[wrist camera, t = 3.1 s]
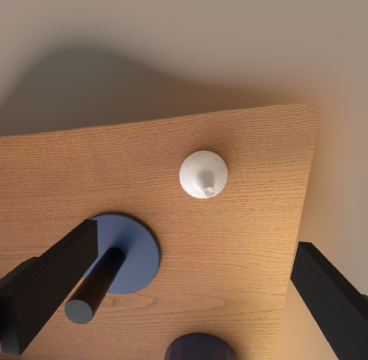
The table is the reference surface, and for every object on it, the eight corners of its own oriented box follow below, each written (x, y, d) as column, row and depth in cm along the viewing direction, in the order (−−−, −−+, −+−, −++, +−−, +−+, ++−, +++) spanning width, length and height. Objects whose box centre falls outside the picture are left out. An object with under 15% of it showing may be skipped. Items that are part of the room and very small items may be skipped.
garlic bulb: (191, 142, 28) (188, 147, 21) (234, 160, 29) (246, 172, 21) (173, 183, 30) (164, 203, 22) (214, 200, 30) (219, 226, 22)
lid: (163, 216, 31) (143, 263, 20) (158, 293, 35) (139, 369, 24) (74, 207, 32) (9, 248, 21) (77, 283, 35) (23, 352, 25)
